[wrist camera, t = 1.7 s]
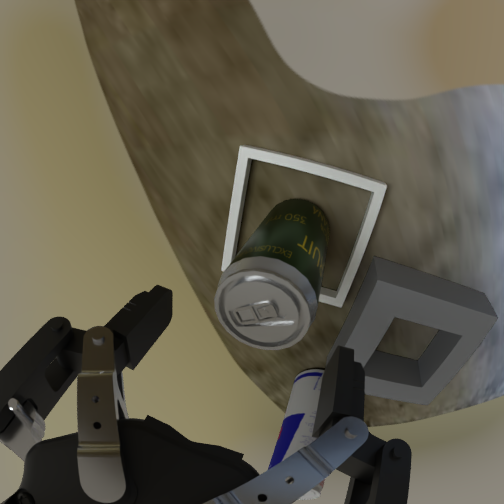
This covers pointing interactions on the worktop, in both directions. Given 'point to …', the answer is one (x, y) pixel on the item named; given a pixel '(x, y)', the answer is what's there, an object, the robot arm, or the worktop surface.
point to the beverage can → (300, 421)
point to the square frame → (318, 169)
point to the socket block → (418, 311)
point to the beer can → (276, 278)
